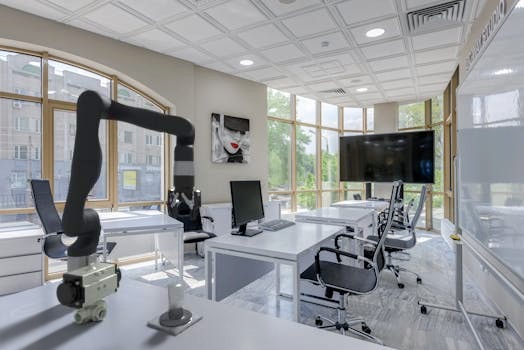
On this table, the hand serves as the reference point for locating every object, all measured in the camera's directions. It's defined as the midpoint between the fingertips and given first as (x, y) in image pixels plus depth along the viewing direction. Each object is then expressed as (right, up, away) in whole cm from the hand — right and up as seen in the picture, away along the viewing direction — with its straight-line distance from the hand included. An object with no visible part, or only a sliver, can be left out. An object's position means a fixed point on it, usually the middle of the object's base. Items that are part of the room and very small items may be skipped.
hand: (183, 218), depth 108 cm
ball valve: (-26, -30, -13) cm, 42 cm away
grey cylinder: (+1, -29, -14) cm, 32 cm away
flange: (+1, -30, -14) cm, 33 cm away
